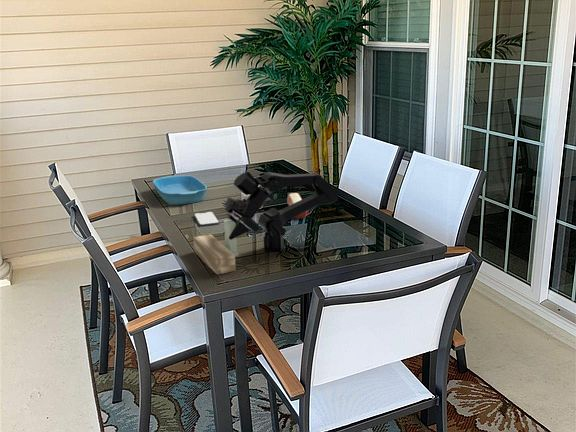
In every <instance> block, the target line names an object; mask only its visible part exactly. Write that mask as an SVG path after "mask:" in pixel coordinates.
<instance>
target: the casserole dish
mask: <svg viewBox="0 0 576 432" xmlns="http://www.w3.org/2000/svg"><path fill="white" fill-rule="evenodd" d="M152 183H153V186H154V189H155V191H156V192H157V194H158V195H159V196H160V198H161V199H162V200H163V201H164V202H165V203H167V204H168V205H171V206H179V205H187V204H193V203H198V202H202V201H203V200H204V199H205V196H206V193H207V189H208V187H207V185H206V184H205V183H203V182H202V180H199V178H197V177H196V176H194V175H187V174H186V175H185V174H183V175H178V174H177V175H168V176H163V177H158V178H155V179H152Z"/></svg>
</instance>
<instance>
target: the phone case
mask: <svg viewBox="0 0 576 432" xmlns="http://www.w3.org/2000/svg"><path fill="white" fill-rule="evenodd" d="M193 219H195V221H196V223H197V225H198V226H199V227H201V228H202V227H203V228H204V227H210V226H211V227H212V226H218V225H220V221H219V219H218V217H217V216H216V215H215V213H214V212H213V211H206V212H196V213H194V214H193Z"/></svg>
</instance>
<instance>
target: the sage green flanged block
mask: <svg viewBox="0 0 576 432" xmlns="http://www.w3.org/2000/svg"><path fill="white" fill-rule="evenodd" d="M235 227H236V223H235V222H234V221H232V220H231V219H229V220H228V219H224V220H223V228H224V230H223V232H225V235H224V246H225V247H226V248H228V249H229V250H230V251H231V252H232V253H233V254H235V257H237V256H239V255H238V254H239V252H238V251H239V250H238V243H237V242H238V241H237V237H236V238H234V239H232V240H230V239H229V236H230V234H231V233H232V231H233V230H234V228H235Z"/></svg>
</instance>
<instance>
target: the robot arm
mask: <svg viewBox="0 0 576 432" xmlns="http://www.w3.org/2000/svg"><path fill="white" fill-rule="evenodd" d="M233 185H234V187H236V188H237V189H238V190H239V191H241V193H243V194H244V195H245V196H248V197H247V198H243V199H239V198H237V199H235V198H232V197H230V196H229V197H227V200H226V202H225V204H224V205H225V208H224V210H225V211H226V214H227V218H228V219H227V220H229V219H231V220H232V221H234V222H235V223H236V227H235V228H234V230H233V231H232V233H231V234H230V236H229V239H230V240H232V239H234V238H236V239H237V238H238V237H239V236H241V235H244V234H246V233H249V232H251V231H253V232H254V233H257V231H258V230H259V228H260V227H261V228H262V230H263V232H264V236H263V247H264V248H263V251H266V252H274V253H275V252H276V253H281V252H282V250H283V249H285V247H286V244H284V236H285V235H286V232H287V229H286V228H284V227H283V226H284V225H285V223H286V222H287V221H290V220H292V219H295V218H294V217H296V216H298V215H300V214H302V213H304V212H306V211H307V212H308V211H310V210H311V209H315V208H316V207H318V206H324V205H325V206H326V205H330V204H333V203H335V202H337V201H338V198H339V195H340V194H339V191H338V189H337V188H335V187H333V186H332V185H331V184H330V183H329V182H328V181H327V180H325V178H324V177H323V176H322V175H321V174H319V173H317V172H312V173H298V174H297V173H296V174H295V173H294V174H282V173H277V172H270V171H269V172H268V171H267V172H265V173H263V174H262V175H260V176H257V177H254V176H253V175H252V174H251V173H250V171H248V170H245V171H244V172H243V173H241V174H239V175H238V176H237V177H236V178H235V179H234V181H233ZM259 186H260V187H259ZM297 186H299V187H300V186H313V188H314V191H313V192H312V193H311V195H308V196H307V197H304V198H301V199H302V200H300V201H298V202H296V203H294V204H292V205H290V206H289V205H287V206H286V207H284V208H282V209H276V208H274V207H270V209H268V210H266V211H265V210H264V211H263V212H262V214H260V215H259V217H258V220H257V221H258V223H257V222H256V221H255V220H254V219H253V218H254V217H255V215H256V214H257V213H258V214H259V213H260V212H261V210H260V208H261V207H263V205H264V204H265V202H266V201H267V200H268V199H269V200H270V201H274V192H277V191H279V190H283V189H285V188H289V187H297ZM268 190H269V191H268ZM222 234H223V235H224V236H225V232H224V231H223V233H222Z"/></svg>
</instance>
